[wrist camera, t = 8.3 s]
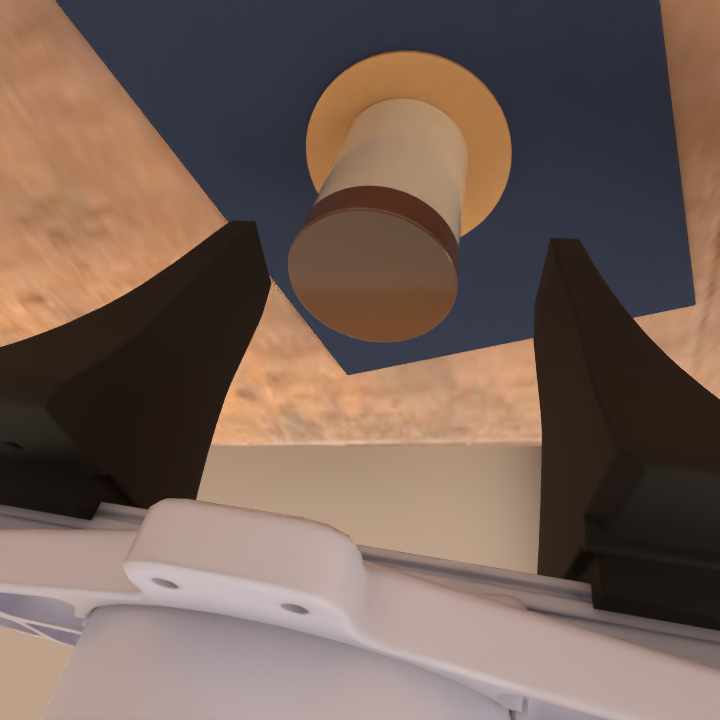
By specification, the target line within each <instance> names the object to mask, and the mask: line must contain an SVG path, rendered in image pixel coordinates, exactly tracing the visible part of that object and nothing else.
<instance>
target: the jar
mask: <svg viewBox="0 0 720 720" xmlns="http://www.w3.org/2000/svg"><path fill="white" fill-rule="evenodd" d="M468 167H469V156H468V150H467V146H466V143H465V140H464V137H463V135H462V133H461V131H460V130H459V128H458V127H457V125H456V124H455V123H454V122H453V121H452V120H451V118H450V117H448V116H447V115H446V114H445V113H444V112H442V111H441V110H439V109H438V108H436V107H434V106H432V105H430V104H428V103H425V102H422V101H419V100H414V99H404V98H399V99H390V100H386V101H382V102H379V103H377V104H374V105H372V106H371V107H369V108H367V109H366V110H364V111H363V112H362V113H361V114H359V115H358V116H357V117H356V118H355V120H354V121H353V122H352V123H351V125H350V126H349V128H348V130H347V132H346V134H345V136H344V138H343V140H342V142H341V145H340V147H339V149H338V151H337V154H336V156H335V158H334V160H333V163H332V165H331V167H330V169H329V171H328V174H327V176H326V178H325V180H324V183H323V185H322V187H321V189H320V192H319V194H318V196H317V198H316V200H315V203H314V205H313V207H312V208H311V209H310V211H309V212H308V213H307V215H306V216H305V218H304V220H303V222H302V224H301V226H300V228H299V230H298V232H297V235H296V237H295V239H294V241H293V243H292V246H291V249H290V252H289V257H288V272H289V278H290V281H291V284H292V287H293V289H294V291H295V293H296V295H297V297H298V298H299V300H300V301H301V303H302V304H303V305H304V307H305V308H306V309H307V310H308V311H309V312H310V313H311V314H312V315H313V316H314V317H315V318H317V319H318V320H319V321H321V322H322V323H323V324H325V325H327V326H328V327H330V328H332V329H334V330H336V331H338V332H340V333H342V334H345V335H347V336H350V337H353V338H357V339H361V340H366V341H373V342H397V341H403V340H408V339H411V338H415V337H417V336H420V335H422V334H425V333H426V332H428V331H430V330H432V329H433V328H434V327H436V326H437V325H438V324H439V323H440V322H441V321H442V320H443V319H444V318H445V317H446V316H447V315H448V313H449V312H450V310H451V308H452V306H453V304H454V302H455V299H456V296H457V289H458V281H459V272H460V251H459V243H460V235H461V226H462V218H463V209H464V201H465V192H466V184H467V175H468Z"/></svg>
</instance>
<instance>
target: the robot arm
mask: <svg viewBox="0 0 720 720" xmlns="http://www.w3.org/2000/svg"><path fill="white" fill-rule="evenodd" d="M270 286H271V281H270V277H269V273H268V269H267V265H266V261H265V257H264V253H263V250H262V246H261V242H260V238H259V234H258V230H257V226H256V222H255V221H240V220H232V221H231V222H229V223H228V224H226V225H225V226H223V227H222V228H220V229H219V230H218V231H216V232H215V233H214V234H212V235H211V236H209V237H208V238H207V239H206V240H204V241H203V242H202V243H200V244H199V245H198V246H196V247H195V248H194V249H192V250H191V251H189V252H188V253H187V254H185V255H184V256H183V257H181V258H180V259H179V260H177V261H176V262H175V263H173V264H172V265H170V266H169V267H167V268H166V269H164V270H163V271H161V272H160V273H158V274H157V275H155V276H154V277H152V278H151V279H150V280H148V281H147V282H145V283H144V284H142V285H140V286H139V287H137V288H135V289H134V290H132V291H130V292H129V293H127V294H125V295H123V296H122V297H120V298H118V299H116V300H114V301H113V302H111V303H109V304H107V305H105V306H103V307H101V308H99V309H97V310H95V311H92V312H90V313H88V314H86V315H84V316H82V317H80V318H77V319H75V320H73V321H71V322H69V323H67V324H64V325H62V326H59V327H57V328H54V329H52V330H49V331H47V332H44V333H41V334H39V335H36V336H33V337H30V338H28V339H25V340H22V341H19V342H16V343H13V344H9V345H6V346H3V347H0V627H4V628H8V629H11V630H15V631H19V632H22V633H26V634H29V635H33V636H37V637H40V638H44V639H48V640H51V641H55V642H58V643H62V644H66V645H69V646H73V647H75V648H74V650H73V652H72V654H71V656H70V658H69V660H68V662H67V664H66V666H65V668H64V670H63V672H62V674H61V676H60V678H59V680H58V682H57V684H56V686H55V688H54V690H53V692H52V695H51V696H50V699H49V701H48V702H47V704H46V707H45V708H44V710H43V712H42V715H41V717H40V719H39V720H720V399H718V398H717V397H716V396H715V395H713V394H712V393H711V392H709V391H708V390H707V389H705V388H704V387H703V386H702V385H700V384H699V383H698V382H697V381H696V380H695V379H693V378H692V377H691V376H690V375H689V374H687V373H686V372H685V371H684V370H683V369H681V368H680V367H679V366H678V365H677V364H676V363H675V362H674V361H673V360H671V359H670V358H669V357H668V356H667V355H666V354H665V353H664V352H663V351H662V350H661V349H660V348H659V347H658V346H657V345H656V344H655V343H654V342H653V341H652V340H651V339H650V338H649V337H648V335H647V334H646V333H645V332H644V331H643V330H642V329H641V328H640V326H639V325H638V324H637V323H636V321H635V320H634V319H633V318H632V317H631V315H630V314H629V313H628V312H627V310H626V309H625V308H624V306H623V305H622V304H621V302H620V301H619V300H618V298H617V297H616V295H615V294H614V293H613V291H612V290H611V288H610V287H609V286H608V284H607V283H606V281H605V280H604V278H603V277H602V275H601V273H600V272H599V270H598V269H597V267H596V266H595V264H594V262H593V261H592V259H591V257H590V256H589V254H588V252H587V251H586V249H585V247H584V246H583V244H582V243H581V241H580V240H579V239H568V238H550V243H549V247H548V251H547V255H546V259H545V263H544V267H543V272H542V276H541V280H540V284H539V288H538V292H537V297H536V301H535V310H534V351H535V361H536V371H537V381H538V391H539V401H540V411H541V424H542V465H541V467H542V468H541V507H540V530H539V552H538V571H537V575H536V574H530V573H523V572H518V571H512V570H506V569H500V568H494V567H487V566H482V565H476V564H470V563H464V562H458V561H451V560H446V559H440V558H433V557H428V556H422V555H416V554H410V553H404V552H398V551H392V550H386V549H380V548H374V547H368V546H362V545H357V544H355V543H354V542H353V541H352V539H351V538H350V537H349V536H348V535H347V534H345V533H343V532H341V531H339V530H338V529H336V528H334V527H332V526H330V525H328V524H325V523H321V522H317V521H314V520H310V519H306V518H302V517H296V516H290V515H284V514H277V513H271V512H265V511H259V510H253V509H247V508H241V507H234V506H228V505H222V504H216V503H210V502H203V501H197V500H196V498H197V493H198V489H199V485H200V481H201V478H202V473H203V470H204V466H205V462H206V458H207V455H208V451H209V448H210V444H211V441H212V438H213V434H214V431H215V428H216V424H217V421H218V418H219V415H220V412H221V409H222V406H223V403H224V400H225V397H226V394H227V392H228V389H229V387H230V384H231V382H232V380H233V377H234V375H235V373H236V371H237V369H238V367H239V365H240V362H241V360H242V358H243V356H244V354H245V352H246V350H247V348H248V345H249V343H250V341H251V339H252V337H253V335H254V332H255V330H256V328H257V326H258V324H259V321H260V319H261V317H262V314H263V311H264V307H265V304H266V301H267V297H268V294H269V290H270Z"/></svg>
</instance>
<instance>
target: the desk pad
mask: <svg viewBox="0 0 720 720" xmlns="http://www.w3.org/2000/svg"><path fill="white" fill-rule="evenodd" d="M56 2H57V3H58V4H59V6H60V7H61V8H62V9H63V11H64V12H65V13H66V15H67V16H68V17H69V18H70V20H71V21H72V22H73V24H74V25H75V26H76V27H77V29H78V30H79V31H80V33H81V34H82V35H83V36H84V38H85V39H86V40H87V41H88V43H89V44H90V45H91V47H92V48H93V49H94V50H95V52H96V53H97V54H98V56H99V57H100V58H101V59H102V61H103V62H104V63H105V65H106V66H107V67H108V68H109V70H110V71H111V72H112V74H113V75H114V76H115V77H116V79H117V80H118V81H119V83H120V84H121V85H122V86H123V88H124V89H125V90H126V92H127V93H128V94H129V95H130V97H131V98H132V99H133V100H134V102H135V103H136V104H137V106H138V107H139V108H140V109H141V111H142V112H143V113H144V115H145V116H146V117H147V118H148V120H149V121H150V122H151V124H152V125H153V126H154V127H155V129H156V130H157V131H158V133H159V134H160V135H161V136H162V138H163V139H164V140H165V142H166V143H167V144H168V145H169V147H170V148H171V149H172V151H173V152H174V153H175V154H176V156H177V157H178V158H179V159H180V161H181V162H182V163H183V165H184V166H185V167H186V168H187V170H188V171H189V172H190V174H191V175H192V176H193V177H194V179H195V180H196V181H197V183H198V184H199V185H200V186H201V188H202V189H203V190H204V192H205V193H206V194H207V195H208V197H209V198H210V199H211V201H212V202H213V203H214V204H215V206H216V207H217V208H218V210H219V211H220V212H221V213H222V215H223V216H224V217H225V218H226V220H227V221H228V222H231V221H232V220H240V221H255V222H256V226H257V230H258V234H259V238H260V242H261V246H262V250H263V253H264V257H265V261H266V265H267V269H268V273H269V275H270V276H271V277H272V279H273V280H274V281H275V283H276V284H277V285H278V286H279V288H280V289H281V290H282V292H283V293H284V294H285V295H286V297H287V298H288V299H289V301H290V302H291V303H292V304H293V306H294V307H295V308H296V310H297V311H298V312H299V313H300V315H301V316H302V317H303V319H304V320H305V321H306V322H307V324H308V325H309V326H310V327H311V329H312V330H313V331H314V333H315V334H316V335H317V336H318V338H319V339H320V340H321V342H322V343H323V344H324V345H325V347H326V348H327V349H328V351H329V352H330V353H331V354H332V356H333V357H334V358H335V360H336V361H337V362H338V363H339V365H340V366H341V367H342V369H343V370H344V371H345V372H346V374H347V375H351V374H356V373H361V372H366V371H371V370H376V369H381V368H386V367H391V366H396V365H401V364H406V363H411V362H416V361H421V360H426V359H431V358H436V357H441V356H445V355H450V354H455V353H460V352H465V351H470V350H475V349H480V348H485V347H490V346H495V345H500V344H505V343H510V342H515V341H520V340H525V339H530V338H534V310H535V301H536V297H537V292H538V288H539V284H540V280H541V276H542V272H543V267H544V263H545V259H546V255H547V251H548V247H549V243H550V238H568V239H579V240H580V241H581V243H582V244H583V246H584V247H585V249H586V251H587V252H588V254H589V256H590V257H591V259H592V261H593V262H594V264H595V266H596V267H597V269H598V270H599V272H600V273H601V275H602V277H603V278H604V280H605V281H606V283H607V284H608V286H609V287H610V288H611V290H612V291H613V293H614V294H615V295H616V297H617V298H618V300H619V301H620V302H621V304H622V305H623V306H624V308H625V309H626V310H627V312H628V313H629V314H630V315H631V317H632V318H634V317H639V316H644V315H649V314H654V313H658V312H663V311H668V310H673V309H678V308H683V307H688V306H693V305H695V304H696V303H695V295H694V286H693V278H692V270H691V261H690V253H689V245H688V236H687V228H686V219H685V211H684V203H683V194H682V186H681V178H680V169H679V161H678V152H677V144H676V136H675V127H674V119H673V111H672V102H671V94H670V85H669V77H668V69H667V60H666V52H665V44H664V35H663V27H662V19H661V10H660V2H659V0H56ZM399 98H404V99H414V100H419V101H422V102H425V103H428V104H430V105H432V106H434V107H436V108H438V109H439V110H441V111H442V112H444V113H445V114H446V115H447V116H448V117H450V118H451V120H452V121H453V122H454V123H455V124H456V125H457V127H458V128H459V130H460V131H461V133H462V135H463V137H464V140H465V143H466V146H467V150H468V156H469V167H468V175H467V184H466V192H465V201H464V209H463V218H462V226H461V235H460V243H459V251H460V272H459V281H458V289H457V296H456V299H455V302H454V304H453V306H452V308H451V310H450V312H449V313H448V315H447V316H446V317H445V318H444V319H443V320H442V321H441V322H440V323H439V324H438V325H437V326H436V327H434V328H433V329H432V330H430V331H428V332H426V333H425V334H422V335H420V336H417V337H415V338H411V339H408V340H403V341H397V342H373V341H366V340H361V339H357V338H353V337H350V336H347V335H345V334H342V333H340V332H338V331H336V330H334V329H332V328H330V327H328V326H327V325H325V324H323V323H322V322H321V321H319V320H318V319H317V318H315V317H314V316H313V315H312V314H311V313H310V312H309V311H308V310H307V309H306V308H305V307H304V305H303V304H302V303H301V301H300V300H299V298H298V297H297V295H296V293H295V291H294V289H293V287H292V284H291V281H290V278H289V272H288V257H289V252H290V249H291V246H292V243H293V241H294V239H295V237H296V235H297V232H298V230H299V228H300V226H301V224H302V222H303V220H304V218H305V216H306V215H307V213H308V212H309V211H310V209H311V208H312V207H313V205H314V203H315V200H316V198H317V196H318V194H319V192H320V189H321V187H322V185H323V183H324V180H325V178H326V176H327V174H328V171H329V169H330V167H331V165H332V163H333V160H334V158H335V156H336V154H337V151H338V149H339V147H340V145H341V142H342V140H343V138H344V136H345V134H346V132H347V130H348V128H349V126H350V125H351V123H352V122H353V121H354V120H355V118H356V117H357V116H358V115H359V114H361V113H362V112H363V111H364V110H366V109H367V108H369V107H371V106H372V105H374V104H377V103H379V102H382V101H386V100H390V99H399Z"/></svg>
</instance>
